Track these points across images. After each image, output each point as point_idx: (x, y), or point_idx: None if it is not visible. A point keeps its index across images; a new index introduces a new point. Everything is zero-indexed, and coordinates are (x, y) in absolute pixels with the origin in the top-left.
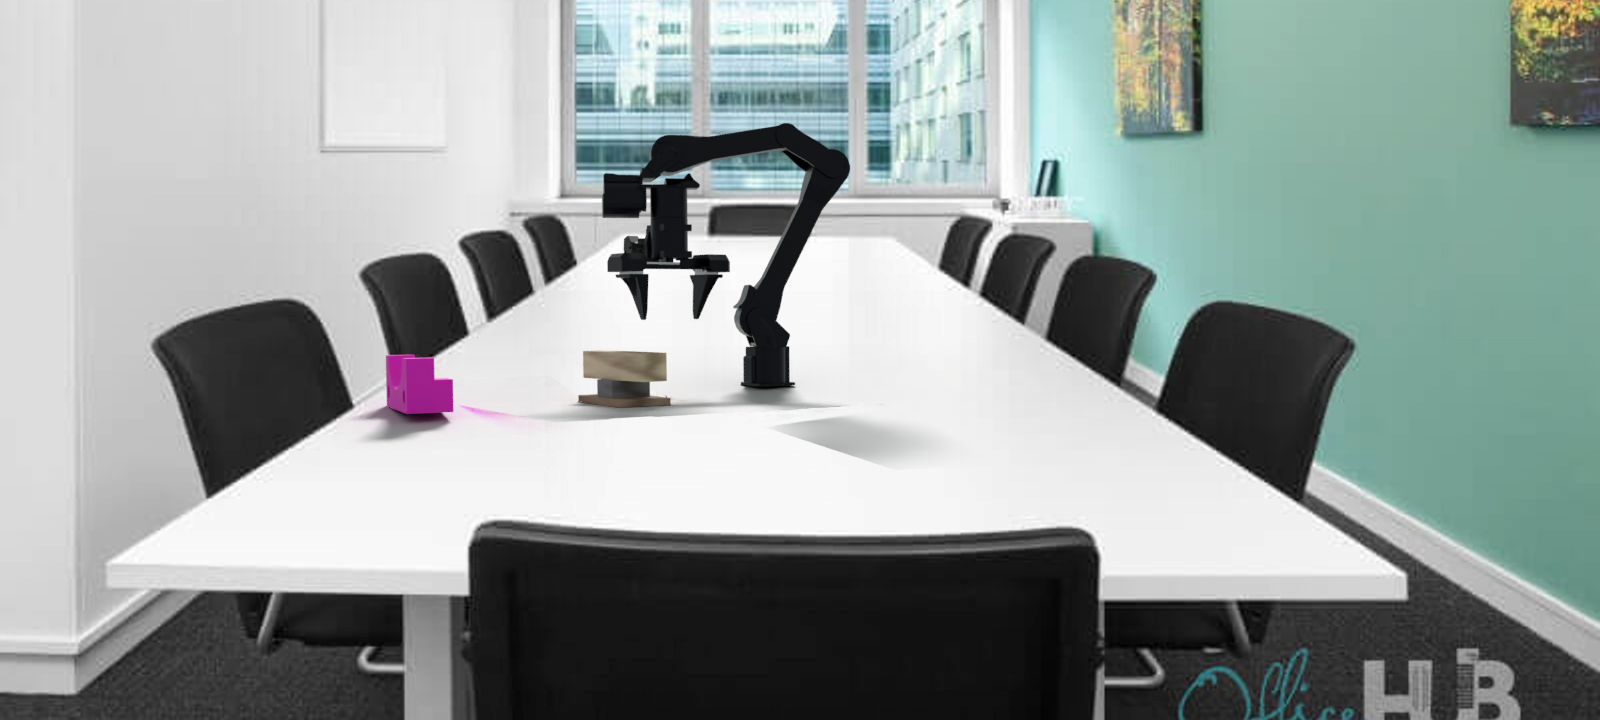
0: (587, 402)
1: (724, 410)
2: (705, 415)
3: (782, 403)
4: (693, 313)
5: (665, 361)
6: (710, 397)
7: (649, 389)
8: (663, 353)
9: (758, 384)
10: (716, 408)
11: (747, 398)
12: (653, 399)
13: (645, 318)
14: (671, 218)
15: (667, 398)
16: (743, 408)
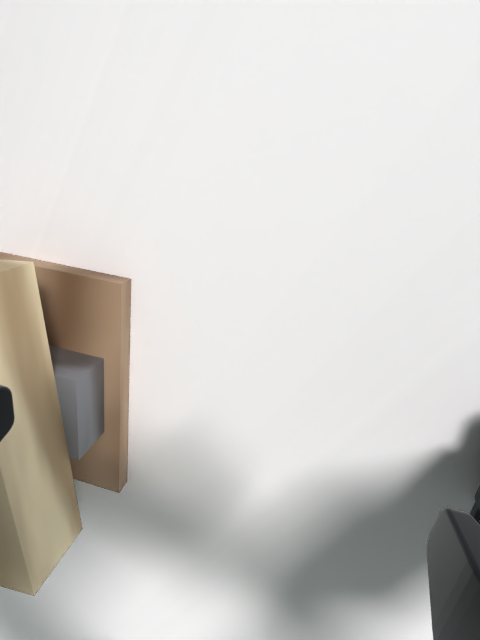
0: None
1: (141, 610)
2: (75, 627)
3: (321, 622)
4: (453, 546)
5: (48, 571)
6: (349, 398)
7: (94, 442)
8: (26, 591)
9: (472, 515)
10: (152, 583)
11: (388, 496)
12: (81, 480)
13: (5, 429)
14: None
15: (112, 489)
16: (188, 616)
